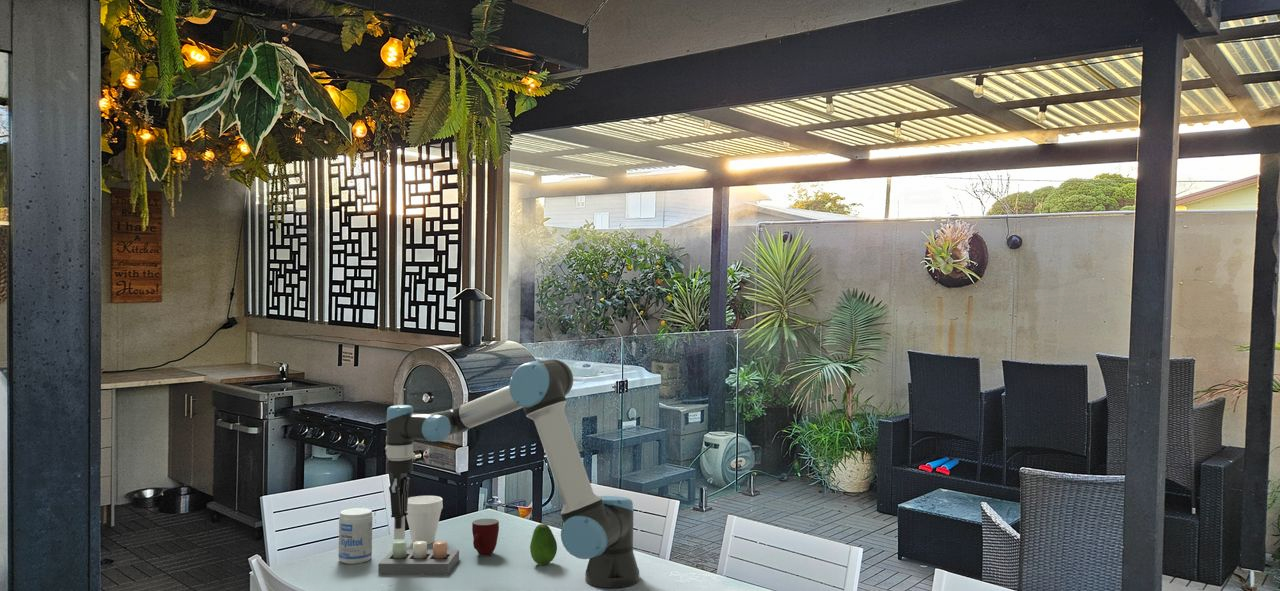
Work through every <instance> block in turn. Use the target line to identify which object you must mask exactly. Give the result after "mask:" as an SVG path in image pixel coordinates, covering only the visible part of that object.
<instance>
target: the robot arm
mask: <svg viewBox="0 0 1280 591" xmlns="http://www.w3.org/2000/svg"><path fill="white" fill-rule="evenodd" d="M508 383H509V384H508V385H507V386H504V387H501V388H500V389H498V390H495V391H492V392H490V393H487V394H485V395H482V396H480V397H478V398H475V399H474V400H471V401H467V402H466V403H462V404H461V405H458V406H455V407H453V408H451V409H447V410H444V411H443V410H441V411H437V412H432V413H415V412H414V407H413V406H412V405H409V404H396V405H391V406H389V407H387V410H386V420H385V423H386V424H385V426H386V428H385V429H386V446H385V447H384V450H385V451H386V458H387V460H386V462H385V463H386V464H385V465H386V466H385V467H386V473H389V474H391V475H392V478H391V481H390V486H388V490H389V495H390V510H391V515H390V517H391V518H394V520H393V527H394V528H393V533H394V534H393V539H394V540H404V539H406V538H405V537H406V515H408V513H406V512H407V505H408V498H409V488H410V481H411V478H410V477H408V473H412V471H413V470H414V459H413V456H414V440H418V441H426V442H427V441H428V442H432V443H433V442H443V441H445V440H446V439H447V438H448V437H449V436H453V435H456V434H457V435H458V434H462V433H465V432H467V431H469V430H470V429H472V428H474V427H477V426H480V425H482V424H485V423H488V422H490V421H492V420H494V419H497V418H499V417H502V416H504V415H507V414H510V413H512V412H514V411H515V412H516V411H517V410H520V409H523V411H524V413H525V416H526V418H528V419H531V420H532V421H533V422H534V425H535V427H536V431H537V434H538V436H539V438H540V441H541V444H542V448H543V450H544V453H545V456H546V459H547V461H548V464H549V467H550V470H551V473H552V476H553V479H554V481H555V484H556V487H557V490H558V494H559V496H560V498H561V502H562V504H563V506H562V509H561V512H560V516H561V518H562V521H563V522H562V523H563V524H562V528H561V530H560V538H561V540H560V541H561V542H562V545H563V547H564V548H565V550H566V551H567V553H569V554H570V555H571V556H573V557H575V558H577V559H581V560H588V563H587V567H586V569H585V572H584V573H585V577H584V578H585V582H586V583H587V584H588V585H591V586H595V587H597V588H606V589H607V588H609V589H615V588H617V589H619V588H624V587H629V586H632V585H633V586H634V585H635V584H637V583H638V582H639V581H640V569H639V567H638V563H637V560H636V557H635V553H634V512H635V510H634V505H633V504H634V502H633V500H632V499H631V498H629V497H624V496H619V495H618V496H617V495H615V496H614V495H597V494H595V493H594V490H593V488H592V485H591V482H590V479H589V476H588V474H587V470H586V468H585V466H584V463H583V462H584V461H583V459H582V458H581V454H580V451H579V449H578V445H577V443H576V440H575V438H574V434H573V431H572V429H571V426H570V423H569V420H568V417H567V415H566V412H565V407H566V405H567V403H568V401H567V399H566V396H567V395H569V393H570V392H571V391H572V388H573V385H574V375H573V372H572V370H571V368H570V366H569V365H567V364H566V363H565V362H564V361H562V360H559V359H555V358H554V359H553V358H552V359H546V360H545V359H544V360H531V361H529V362H525V363H523V364H521V365H519V366H518V367H516V368H515V370H514V371H513V372H512V374H511V377H510V379H509V382H508Z"/></svg>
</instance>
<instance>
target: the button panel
mask: <svg viewBox="0 0 1280 591" xmlns="http://www.w3.org/2000/svg"><path fill="white" fill-rule="evenodd" d="M459 561H460V549H447V557H446V558H441V559H436V558H433V549H427V557H425V558H419V559H417V558H413V549H407V556H406V557H404V558H393V549H392V550H391V551H390V552H389V553H388V554H386V555H385V557H384V558H382V559H381V560H380V561H379V562H378V564H377V565H378V566H377V568H378V571H377V572H378V575H449V574H450V572H451V571H452V569H453V570H454V567H455V566H456V564H458V562H459Z"/></svg>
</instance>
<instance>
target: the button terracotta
mask: <svg viewBox="0 0 1280 591" xmlns="http://www.w3.org/2000/svg"><path fill="white" fill-rule="evenodd" d="M432 550H433V558H436V559H441V558H446V557H447V550H448V542H447V541H445V540H438V541H434V542H433V543H432Z"/></svg>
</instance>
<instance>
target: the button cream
mask: <svg viewBox="0 0 1280 591" xmlns="http://www.w3.org/2000/svg"><path fill="white" fill-rule="evenodd" d="M427 545H428V544H427V542H426V541H416V542H414V543H413V542H412V550H413V558H417V559H419V558H425V557H427V550H428V546H427Z"/></svg>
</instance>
